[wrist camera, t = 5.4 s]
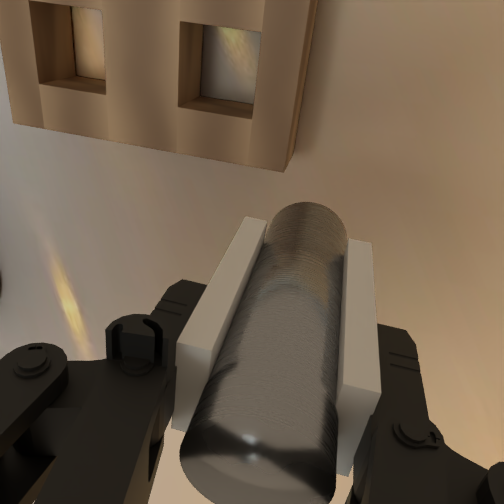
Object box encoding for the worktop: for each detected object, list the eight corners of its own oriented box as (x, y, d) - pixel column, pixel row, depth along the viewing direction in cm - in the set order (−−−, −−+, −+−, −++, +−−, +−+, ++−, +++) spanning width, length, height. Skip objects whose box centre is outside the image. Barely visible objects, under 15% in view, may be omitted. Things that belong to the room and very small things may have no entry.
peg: (263, 263, 18) (176, 496, 9) (274, 194, 16) (183, 397, 8) (336, 279, 17) (317, 538, 9) (355, 211, 16) (353, 443, 7)
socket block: (50, 111, 32) (13, 123, 29) (31, -55, 27) (-17, -64, 24) (293, 153, 30) (283, 172, 26) (321, -20, 25) (313, -26, 21)
